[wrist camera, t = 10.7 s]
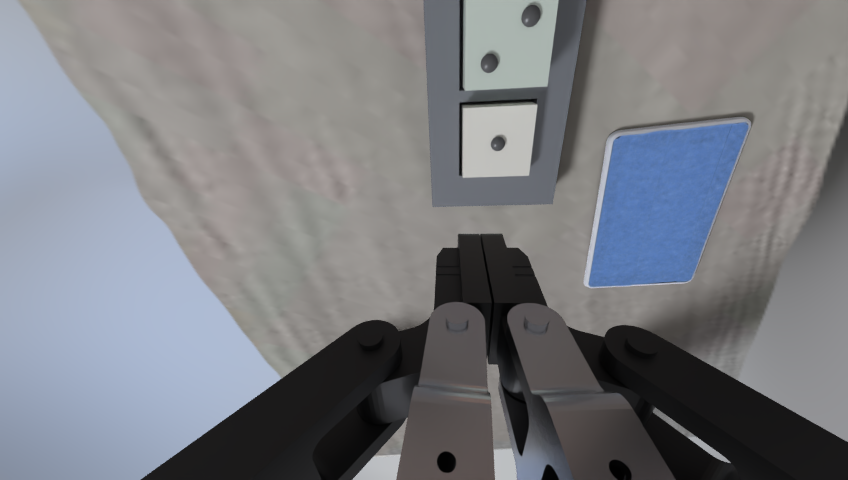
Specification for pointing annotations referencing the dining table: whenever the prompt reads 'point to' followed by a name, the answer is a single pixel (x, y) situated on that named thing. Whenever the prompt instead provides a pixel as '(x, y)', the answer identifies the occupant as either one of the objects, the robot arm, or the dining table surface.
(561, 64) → the keypad board
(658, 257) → the blue flat rectangular panel
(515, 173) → the key one pip
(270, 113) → the dining table surface
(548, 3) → the key two pips
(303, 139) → the dining table surface
